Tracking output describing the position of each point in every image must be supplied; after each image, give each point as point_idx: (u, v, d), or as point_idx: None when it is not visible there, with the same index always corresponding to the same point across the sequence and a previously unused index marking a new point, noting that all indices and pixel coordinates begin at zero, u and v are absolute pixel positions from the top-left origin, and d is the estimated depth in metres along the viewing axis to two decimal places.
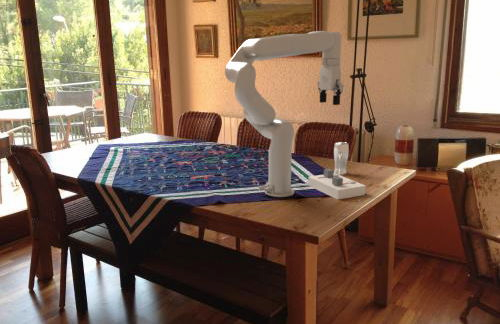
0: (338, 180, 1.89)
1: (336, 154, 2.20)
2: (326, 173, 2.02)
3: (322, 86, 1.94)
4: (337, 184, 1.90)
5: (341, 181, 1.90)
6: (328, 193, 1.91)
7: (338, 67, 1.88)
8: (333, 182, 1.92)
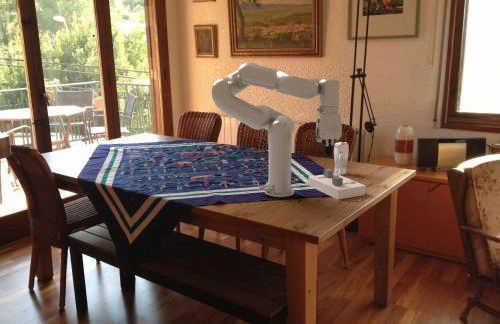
0: (338, 180, 1.89)
1: (336, 154, 2.20)
2: (326, 173, 2.02)
3: (328, 136, 1.81)
4: (337, 184, 1.90)
5: (341, 181, 1.90)
6: (328, 193, 1.91)
7: None
8: (333, 182, 1.92)
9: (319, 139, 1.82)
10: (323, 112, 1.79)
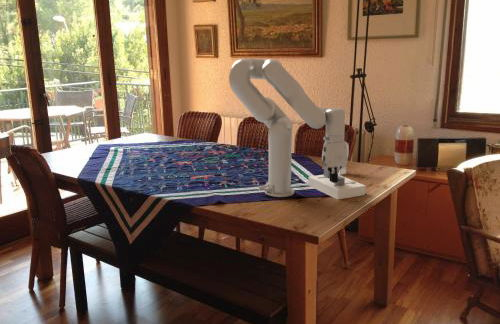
0: (340, 180, 1.90)
1: None
2: (326, 173, 2.02)
3: (334, 164, 1.85)
4: (339, 184, 1.90)
5: (343, 181, 1.91)
6: (328, 193, 1.91)
7: None
8: None
9: (325, 167, 1.86)
10: (329, 141, 1.83)
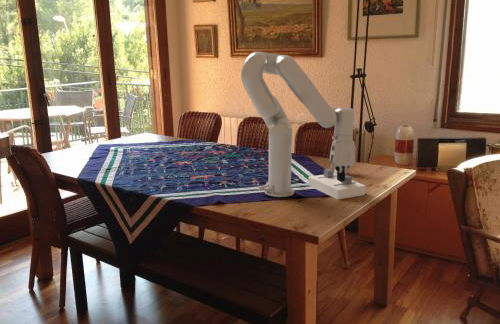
0: (347, 179, 1.91)
1: None
2: (326, 173, 2.02)
3: (342, 163, 1.87)
4: (346, 183, 1.92)
5: (350, 180, 1.92)
6: (328, 193, 1.91)
7: None
8: (342, 181, 1.94)
9: (333, 165, 1.88)
10: (338, 140, 1.85)
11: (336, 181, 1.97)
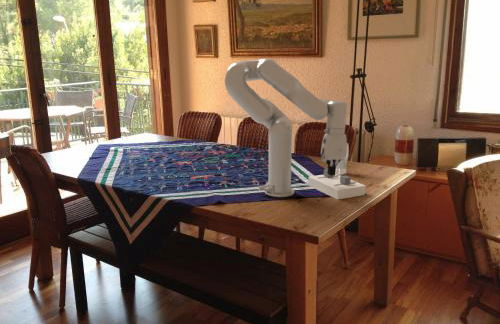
0: (346, 179, 1.91)
1: None
2: (326, 173, 2.02)
3: (333, 156, 1.85)
4: (345, 183, 1.91)
5: (349, 180, 1.92)
6: (328, 193, 1.91)
7: None
8: (340, 181, 1.94)
9: (324, 159, 1.86)
10: (329, 133, 1.83)
11: (336, 181, 1.97)
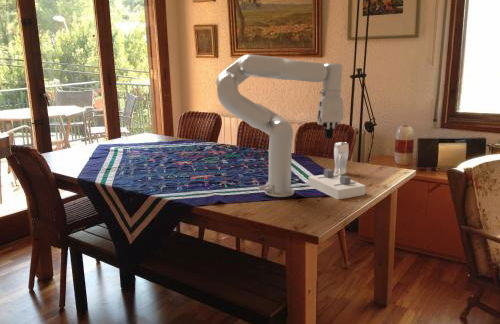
0: (346, 179, 1.91)
1: (336, 154, 2.20)
2: (326, 173, 2.02)
3: (329, 119, 1.86)
4: (345, 183, 1.91)
5: (349, 180, 1.92)
6: (328, 193, 1.91)
7: None
8: (340, 181, 1.94)
9: (320, 122, 1.87)
10: (325, 95, 1.84)
11: (336, 181, 1.97)
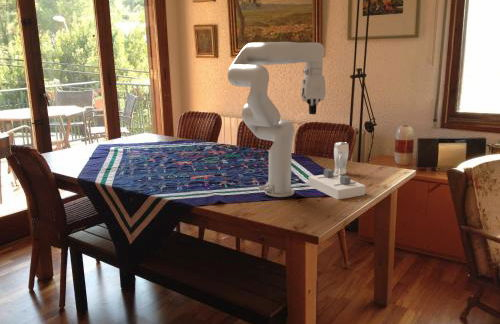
0: (346, 179, 1.91)
1: (336, 154, 2.20)
2: (326, 173, 2.02)
3: (312, 95, 1.99)
4: (345, 183, 1.91)
5: (349, 180, 1.92)
6: (328, 193, 1.91)
7: None
8: (340, 181, 1.94)
9: (304, 98, 2.01)
10: (308, 73, 1.98)
11: (336, 181, 1.97)
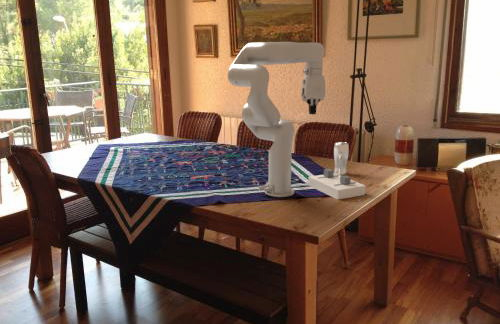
0: (346, 179, 1.91)
1: (336, 154, 2.20)
2: (326, 173, 2.02)
3: (312, 95, 1.99)
4: (345, 183, 1.91)
5: (349, 180, 1.92)
6: (328, 193, 1.91)
7: None
8: (340, 181, 1.94)
9: (304, 98, 2.01)
10: (308, 73, 1.98)
11: (336, 181, 1.97)
